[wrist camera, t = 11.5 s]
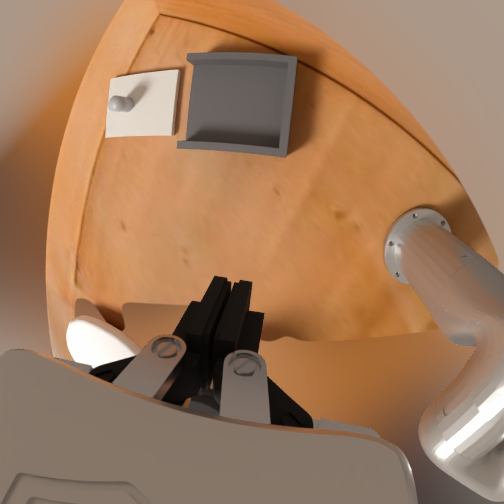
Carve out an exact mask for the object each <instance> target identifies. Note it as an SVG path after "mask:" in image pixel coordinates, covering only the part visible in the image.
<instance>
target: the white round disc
mask: <svg viewBox="0 0 504 504" xmlns="http://www.w3.org/2000/svg"><path fill="white" fill-rule="evenodd" d="M66 338H67V345H68V348H69V351H70V353H71V355H72V357H73V358H74V360H75V362H78V363H83V364H88V365H92V368H95V367H97V366H100V365H103V364H106V363H110V362H114V361H118V360H121V359H125V358H128V357H132V356H135V355H138V353H139V352H140V351H141V350H142V349H141V348H140V347H139V346H138V345H137V344H136V343H135V342H134V341H133V340H132V339H131V338H129V337H128V336H127V335H126V334H124V333H123V332H122V331H120V330H118V329H117V328H115V327H113V326H112V325H110V324H108V323H106V322H104V321H102V320H100V319H97V318H95V317H92V316H87V315H81V316H79V317H77V318H75V319H72V320H71V321H70V323H69V326H68V329H67V337H66Z"/></svg>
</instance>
